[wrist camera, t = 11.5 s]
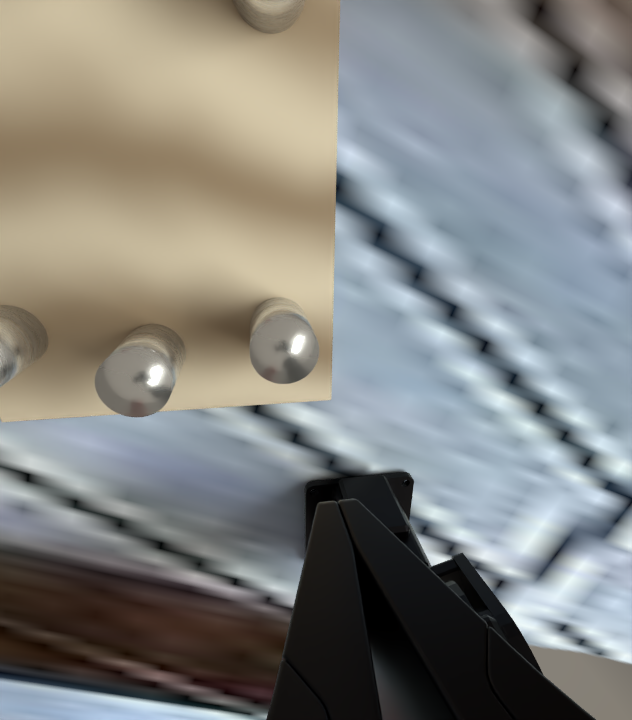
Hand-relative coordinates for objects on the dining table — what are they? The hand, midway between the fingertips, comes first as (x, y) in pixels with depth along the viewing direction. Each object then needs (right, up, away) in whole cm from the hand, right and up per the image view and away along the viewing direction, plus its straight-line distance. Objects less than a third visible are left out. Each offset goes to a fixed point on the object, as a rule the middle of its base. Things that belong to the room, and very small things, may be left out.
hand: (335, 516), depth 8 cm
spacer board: (-7, +11, +8) cm, 15 cm away
